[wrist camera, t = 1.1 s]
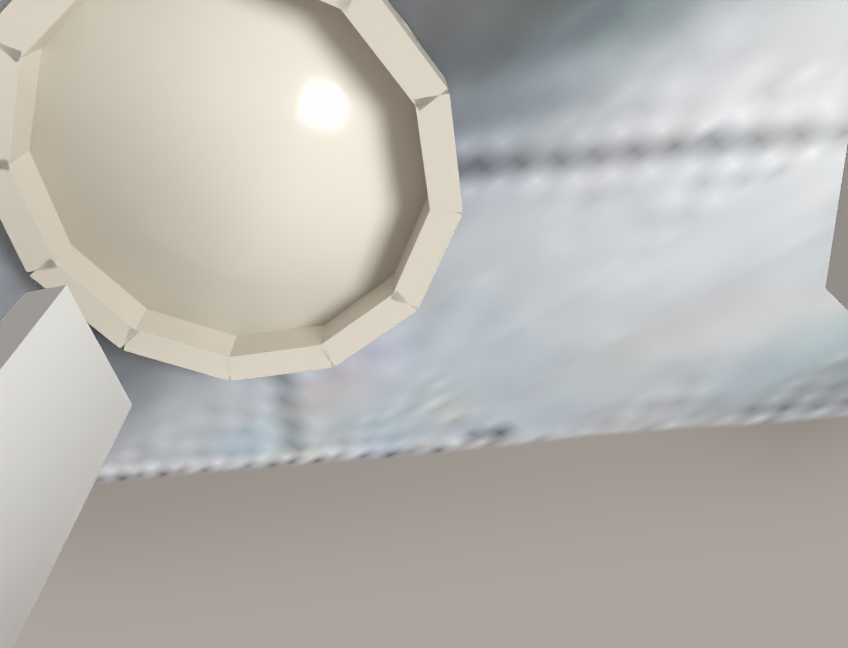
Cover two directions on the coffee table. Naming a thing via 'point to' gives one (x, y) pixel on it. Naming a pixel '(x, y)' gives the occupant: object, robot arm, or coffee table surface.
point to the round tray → (227, 173)
